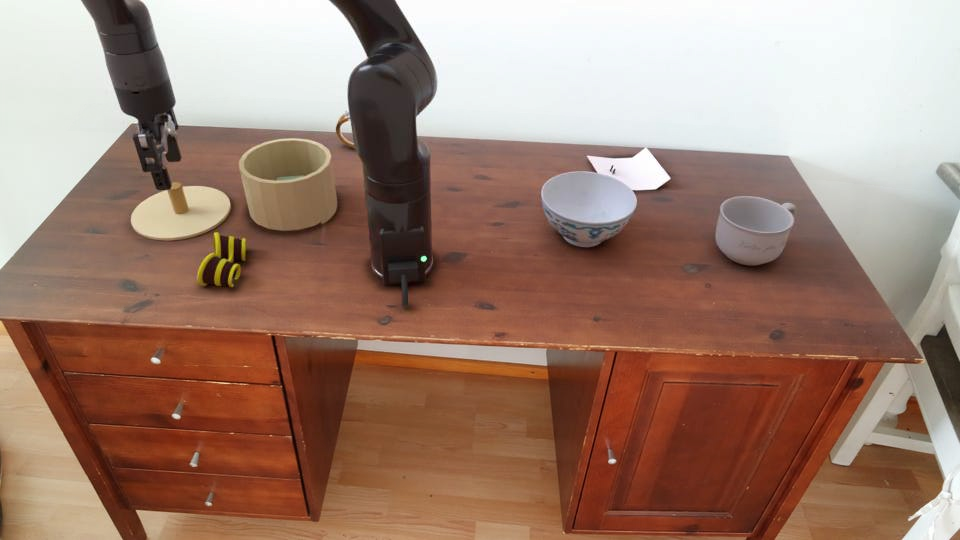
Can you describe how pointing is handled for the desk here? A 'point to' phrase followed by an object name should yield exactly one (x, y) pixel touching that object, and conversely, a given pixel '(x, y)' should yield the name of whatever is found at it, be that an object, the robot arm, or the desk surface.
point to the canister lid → (180, 212)
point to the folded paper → (633, 170)
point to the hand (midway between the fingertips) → (169, 174)
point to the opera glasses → (222, 261)
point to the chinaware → (587, 206)
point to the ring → (343, 119)
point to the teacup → (753, 229)
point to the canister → (289, 184)
